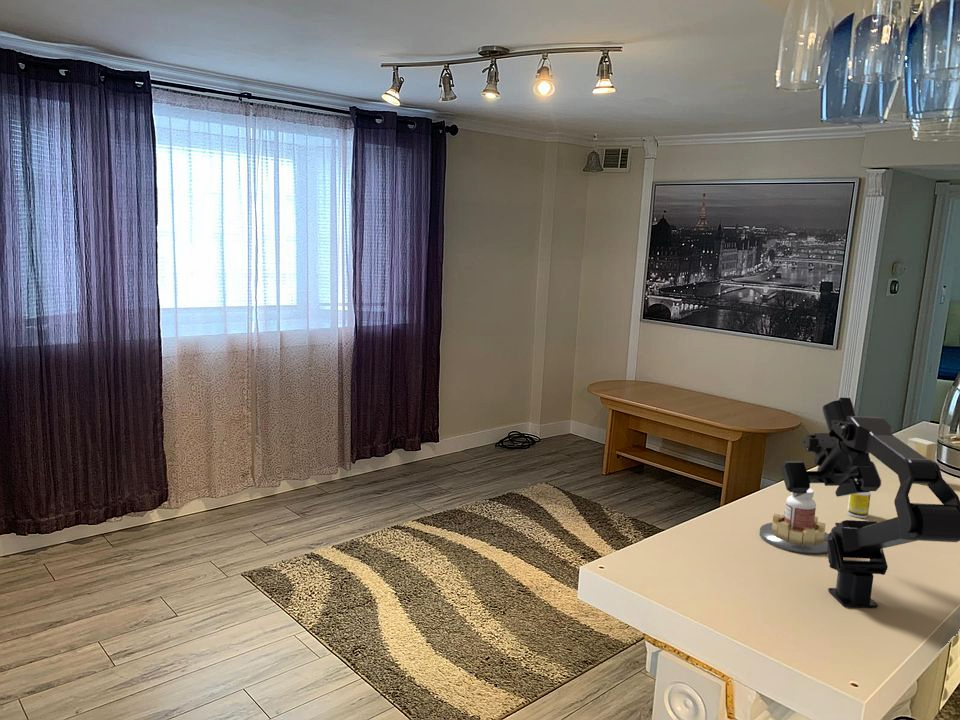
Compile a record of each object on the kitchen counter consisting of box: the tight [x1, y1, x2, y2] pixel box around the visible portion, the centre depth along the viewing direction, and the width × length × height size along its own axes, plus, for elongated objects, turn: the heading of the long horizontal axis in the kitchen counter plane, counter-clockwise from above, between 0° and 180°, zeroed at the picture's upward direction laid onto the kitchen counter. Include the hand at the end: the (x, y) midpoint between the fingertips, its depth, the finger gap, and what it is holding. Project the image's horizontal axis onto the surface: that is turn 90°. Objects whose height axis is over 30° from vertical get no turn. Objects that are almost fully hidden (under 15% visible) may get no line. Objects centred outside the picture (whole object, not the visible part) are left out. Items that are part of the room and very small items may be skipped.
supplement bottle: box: [846, 491, 871, 519], centre depth 182 cm, size 5×5×8 cm
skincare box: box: [906, 437, 938, 462], centre depth 211 cm, size 6×4×12 cm
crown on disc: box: [759, 511, 829, 556], centre depth 165 cm, size 16×16×5 cm
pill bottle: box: [784, 488, 817, 531], centre depth 164 cm, size 6×6×11 cm
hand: (815, 494), depth 155 cm, fingers open, 9 cm apart
